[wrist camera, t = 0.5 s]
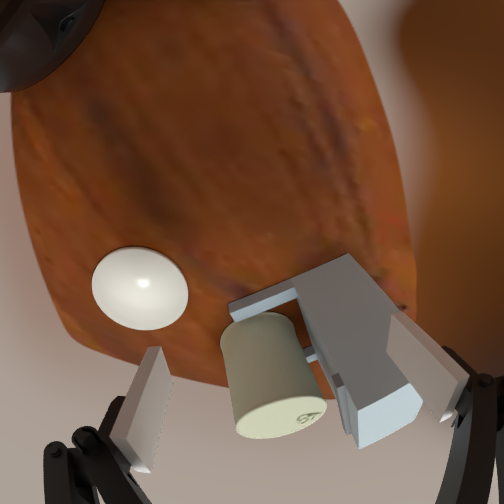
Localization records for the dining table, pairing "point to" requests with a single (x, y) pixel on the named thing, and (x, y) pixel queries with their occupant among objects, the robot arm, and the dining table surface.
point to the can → (269, 377)
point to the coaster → (140, 288)
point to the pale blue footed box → (347, 344)
